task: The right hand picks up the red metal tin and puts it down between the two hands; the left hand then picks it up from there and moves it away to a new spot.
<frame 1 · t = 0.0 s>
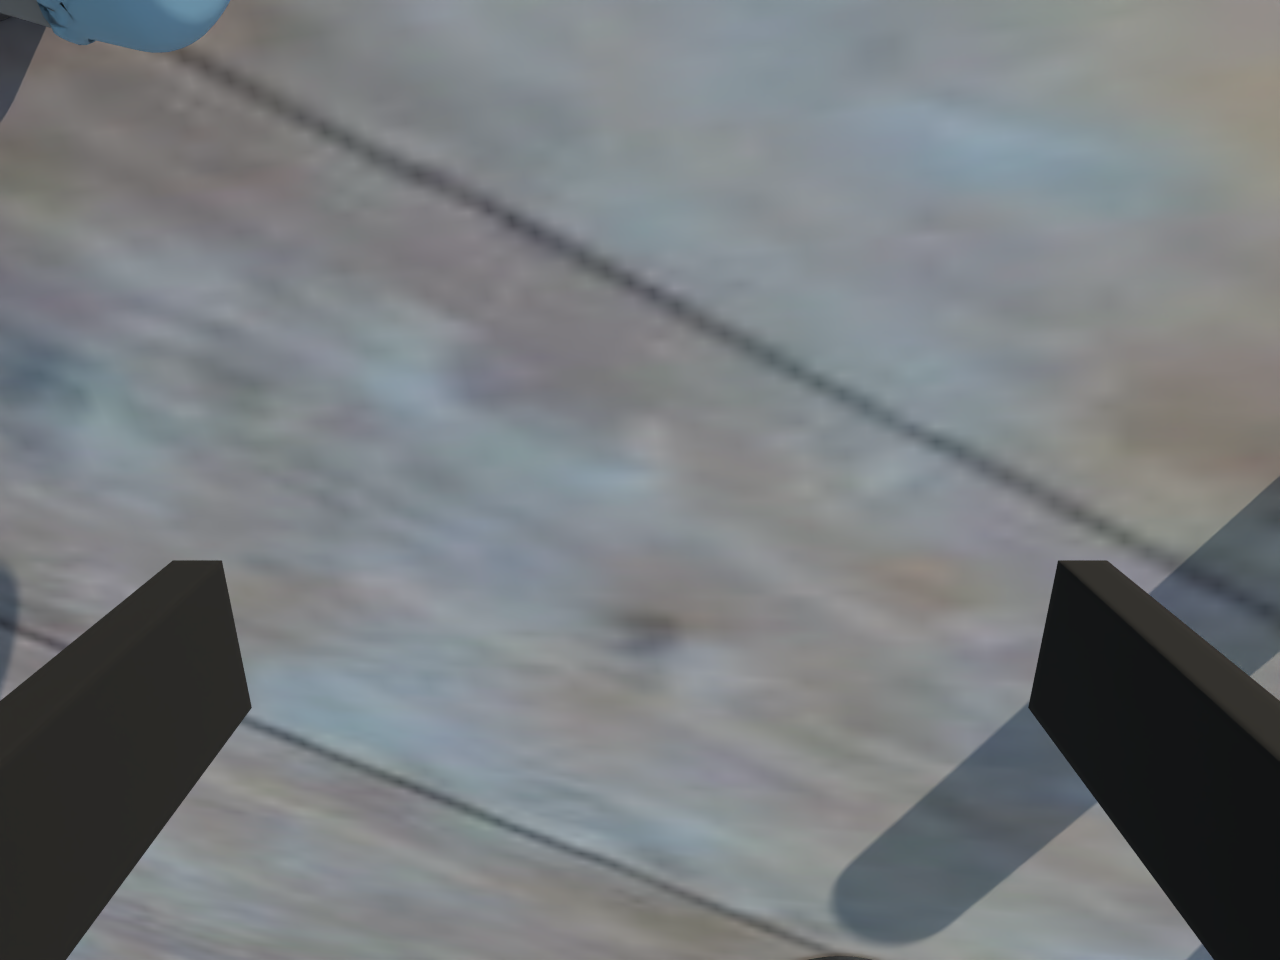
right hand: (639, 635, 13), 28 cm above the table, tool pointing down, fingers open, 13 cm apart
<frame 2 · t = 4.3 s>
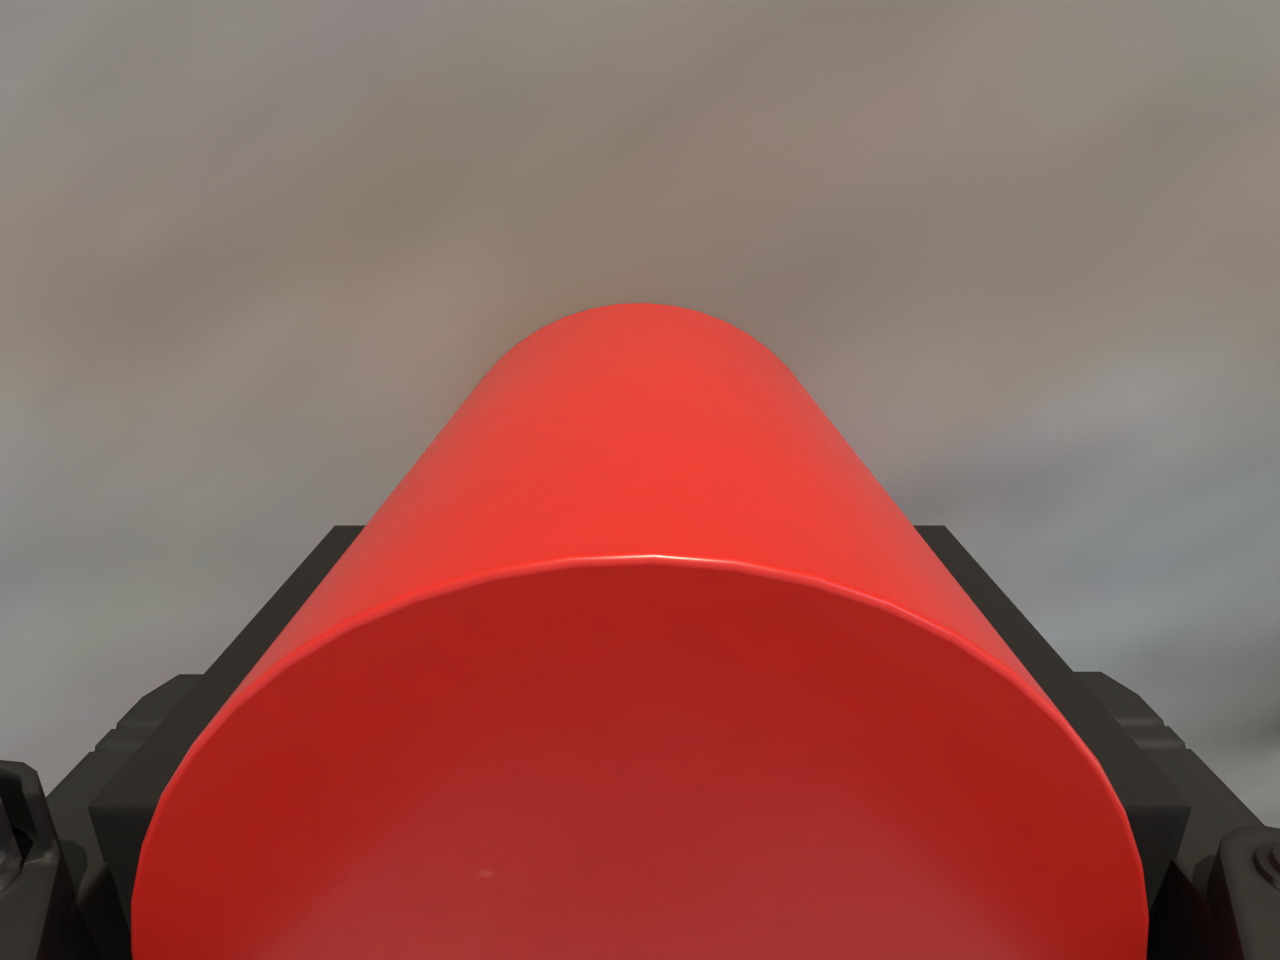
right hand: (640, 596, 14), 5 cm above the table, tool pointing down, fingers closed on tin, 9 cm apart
tin: (639, 496, 18), on the table, touching right hand
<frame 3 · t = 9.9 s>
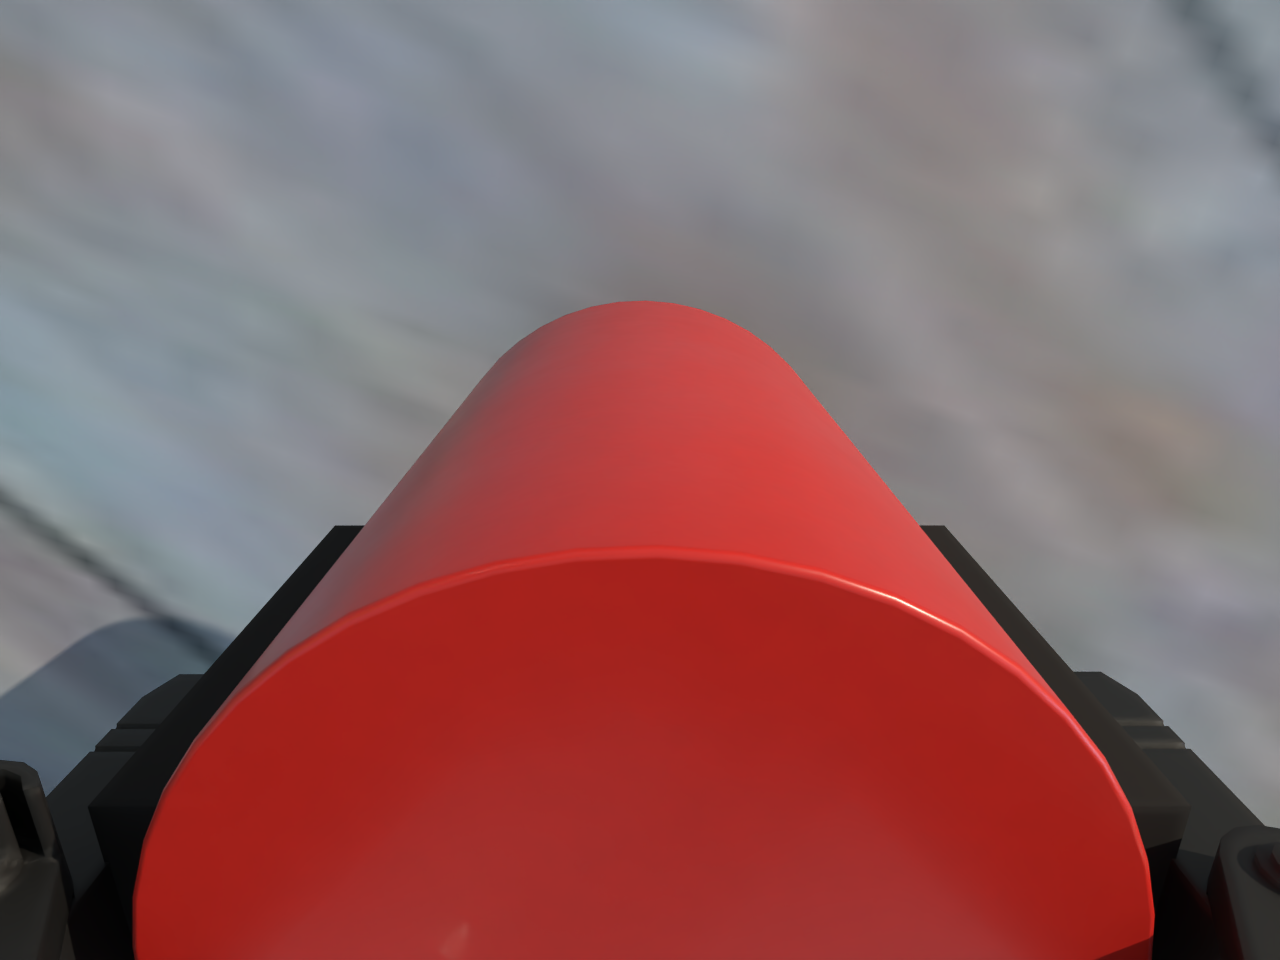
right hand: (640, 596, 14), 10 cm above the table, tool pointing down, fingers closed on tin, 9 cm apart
tin: (641, 494, 18), point 6 cm above the table, touching right hand
when the right hand's fingers open (6 cm above the table, at t = 15.6 s): tin drops 1 cm, on the table.
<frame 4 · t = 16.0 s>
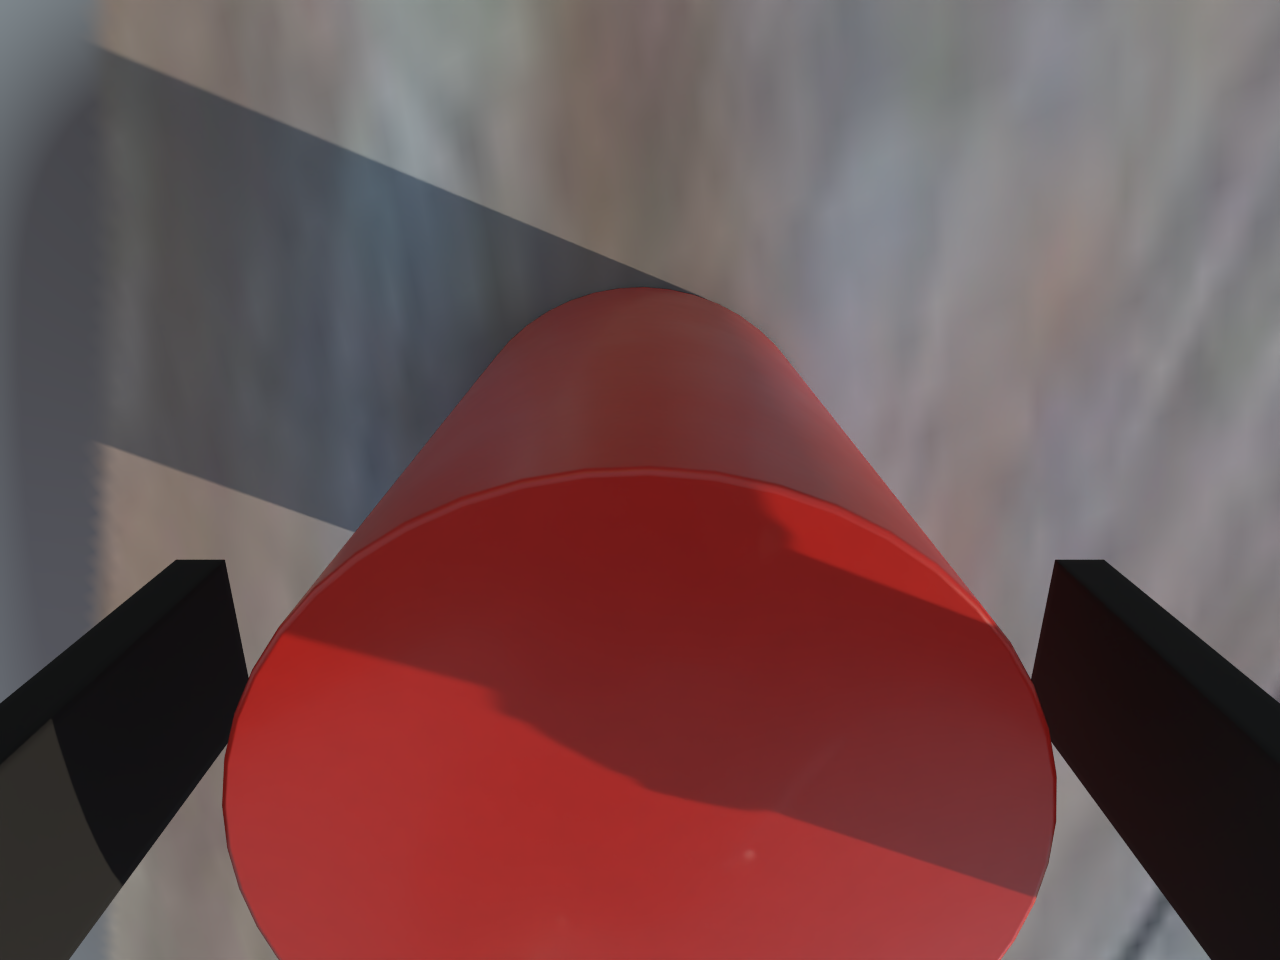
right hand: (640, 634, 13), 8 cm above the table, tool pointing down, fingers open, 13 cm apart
tin: (640, 467, 20), on the table
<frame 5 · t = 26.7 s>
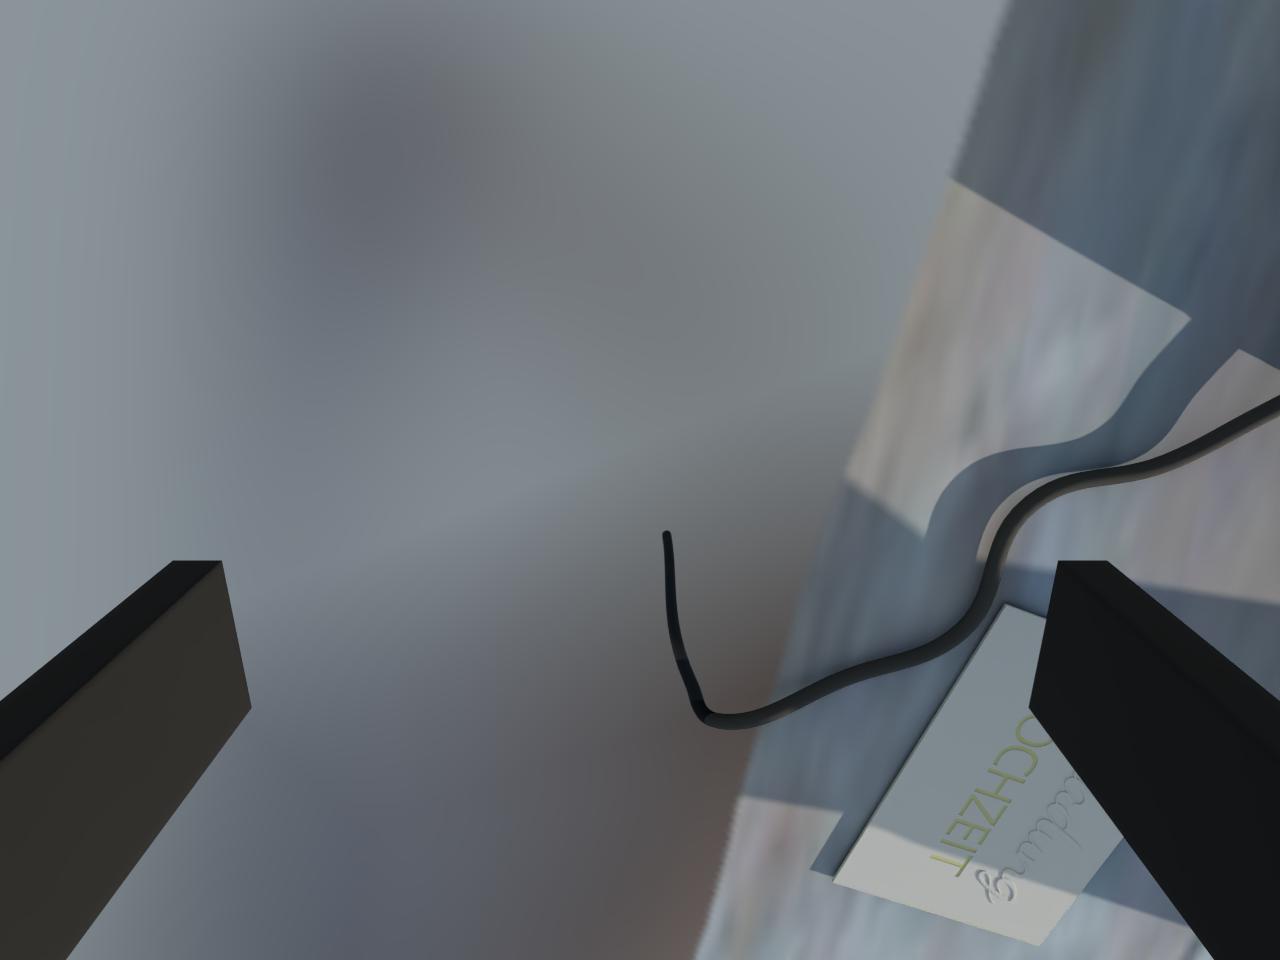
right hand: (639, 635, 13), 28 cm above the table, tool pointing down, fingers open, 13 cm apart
invitation card: (1021, 786, 48), on the table
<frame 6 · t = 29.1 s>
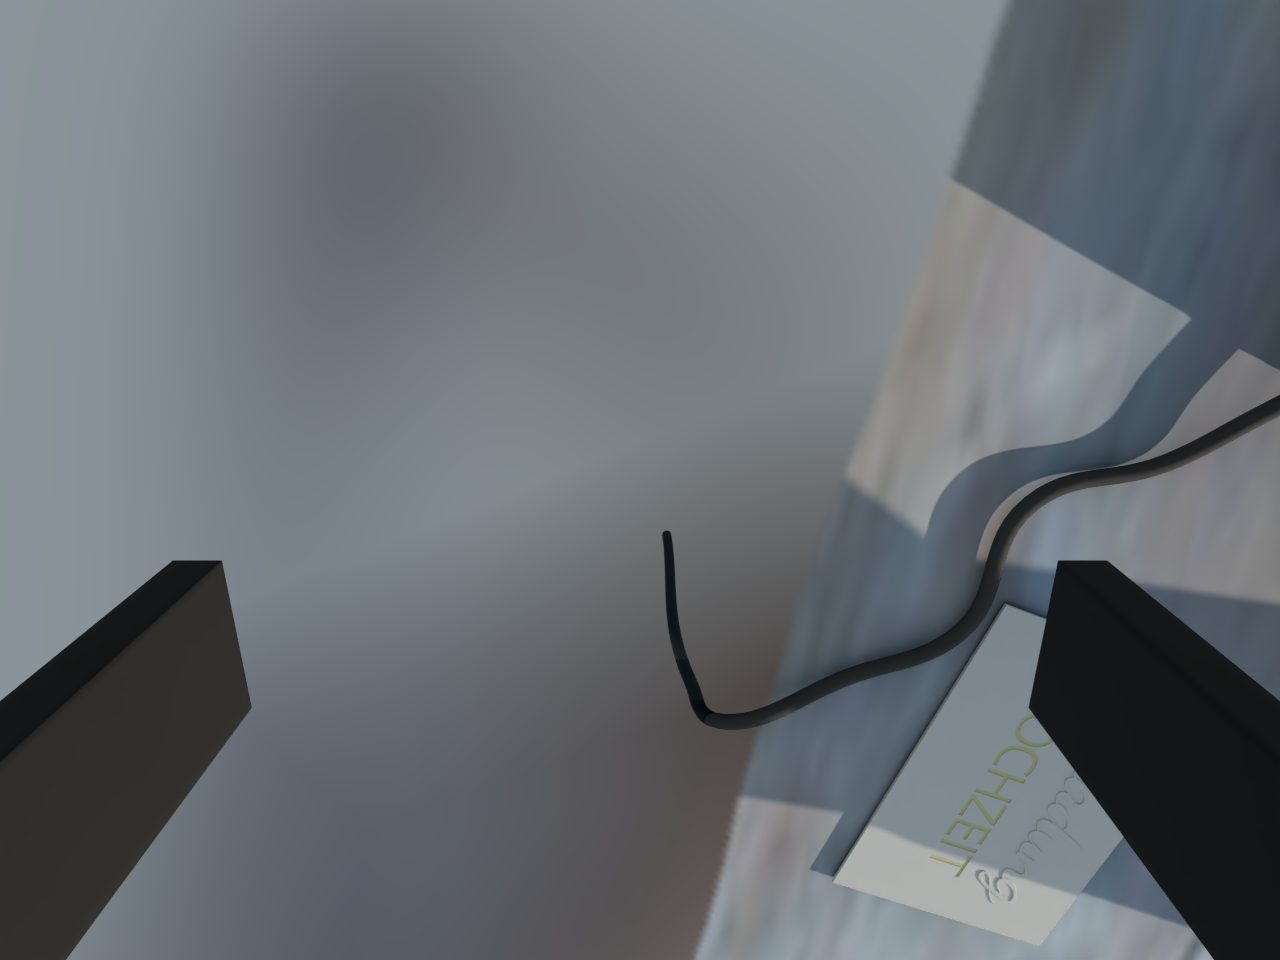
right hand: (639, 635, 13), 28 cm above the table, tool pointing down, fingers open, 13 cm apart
invitation card: (1021, 786, 48), on the table
when the left hand's fingers open (6 cm above the table, at t = 31.6 s): tin drops 1 cm, on the table.
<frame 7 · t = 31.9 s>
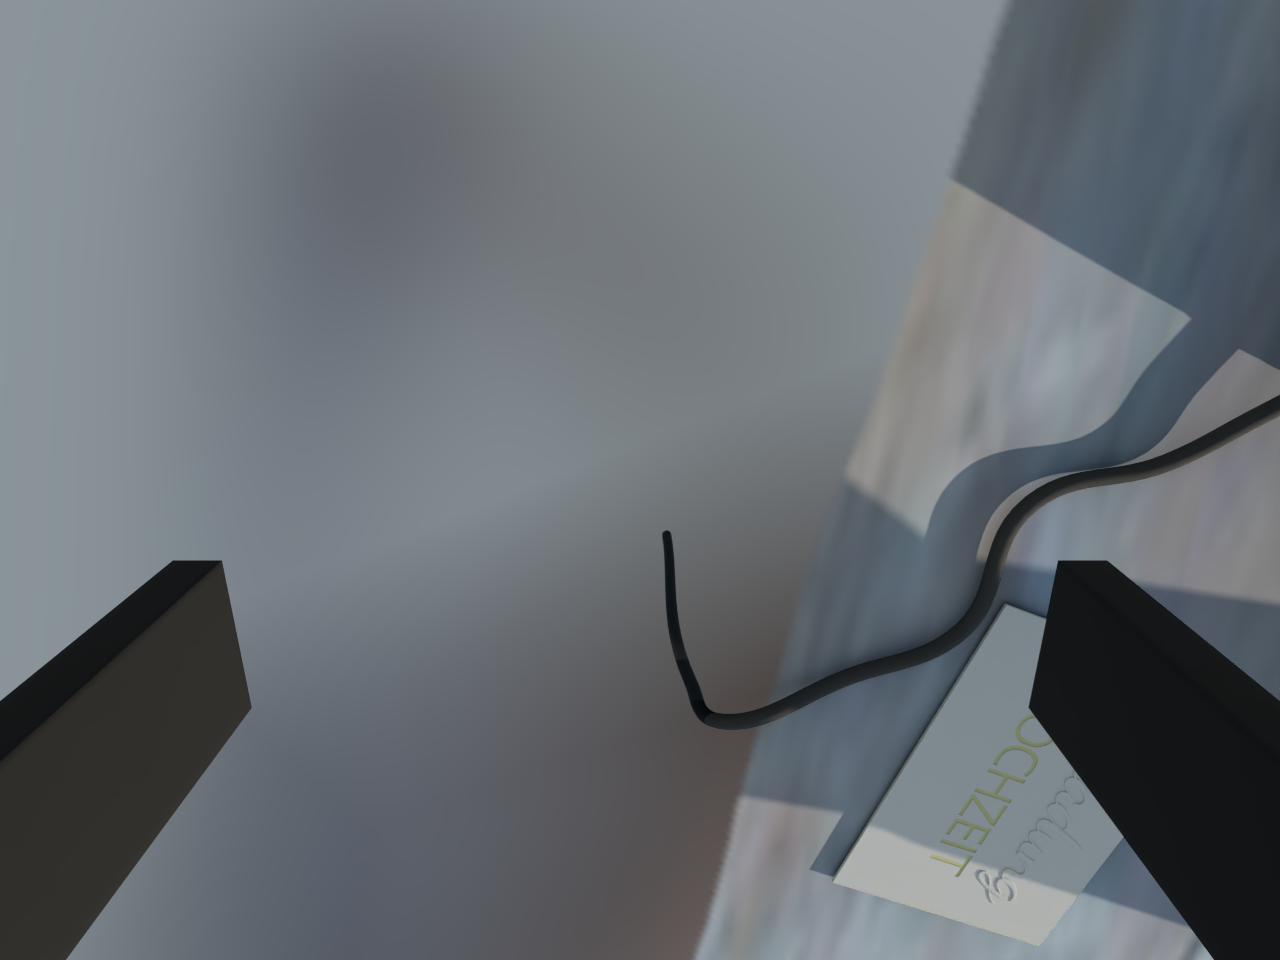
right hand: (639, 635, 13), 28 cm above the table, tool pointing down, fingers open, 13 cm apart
invitation card: (1021, 786, 48), on the table
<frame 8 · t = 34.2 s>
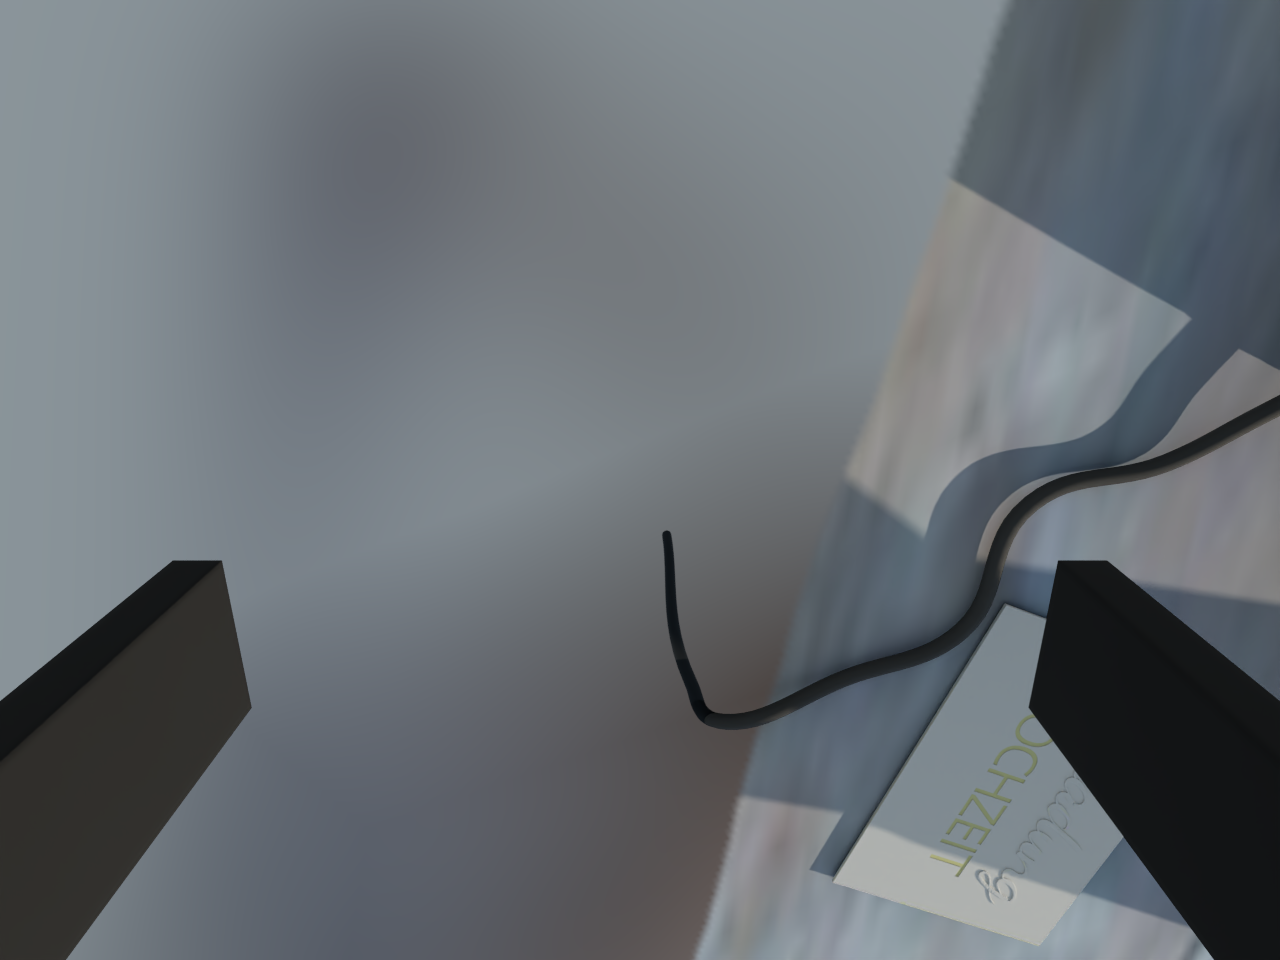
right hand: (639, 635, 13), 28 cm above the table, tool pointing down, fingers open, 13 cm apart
invitation card: (1021, 786, 48), on the table
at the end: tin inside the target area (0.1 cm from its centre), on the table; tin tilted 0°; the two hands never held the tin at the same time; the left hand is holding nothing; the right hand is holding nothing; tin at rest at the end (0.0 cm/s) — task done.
